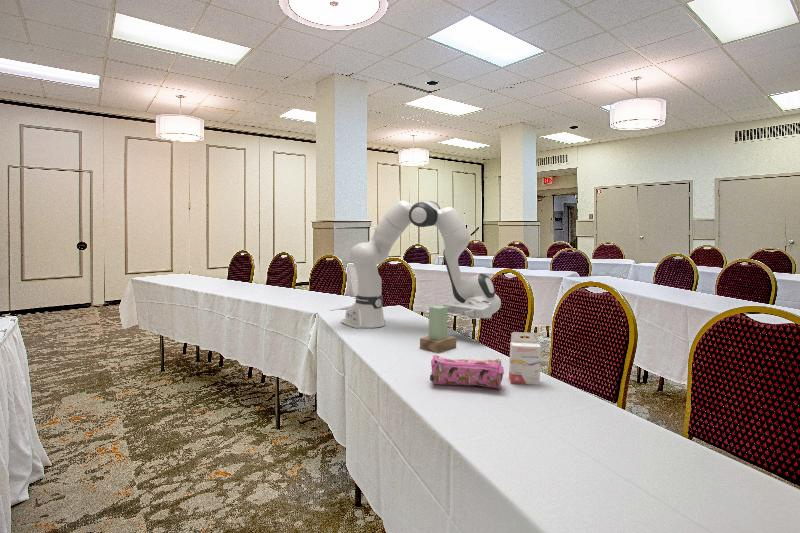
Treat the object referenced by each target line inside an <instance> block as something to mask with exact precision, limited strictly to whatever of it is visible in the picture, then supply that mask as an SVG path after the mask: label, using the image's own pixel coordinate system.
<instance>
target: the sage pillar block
mask: <svg viewBox="0 0 800 533" xmlns="http://www.w3.org/2000/svg"><path fill="white" fill-rule="evenodd" d="M448 314H449V313H448V307H445V306H443V305H433V306H429V307H428V336H429V338H432V339H436V340H441V339H445V338H447V336H448V318H449V317H448Z"/></svg>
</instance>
